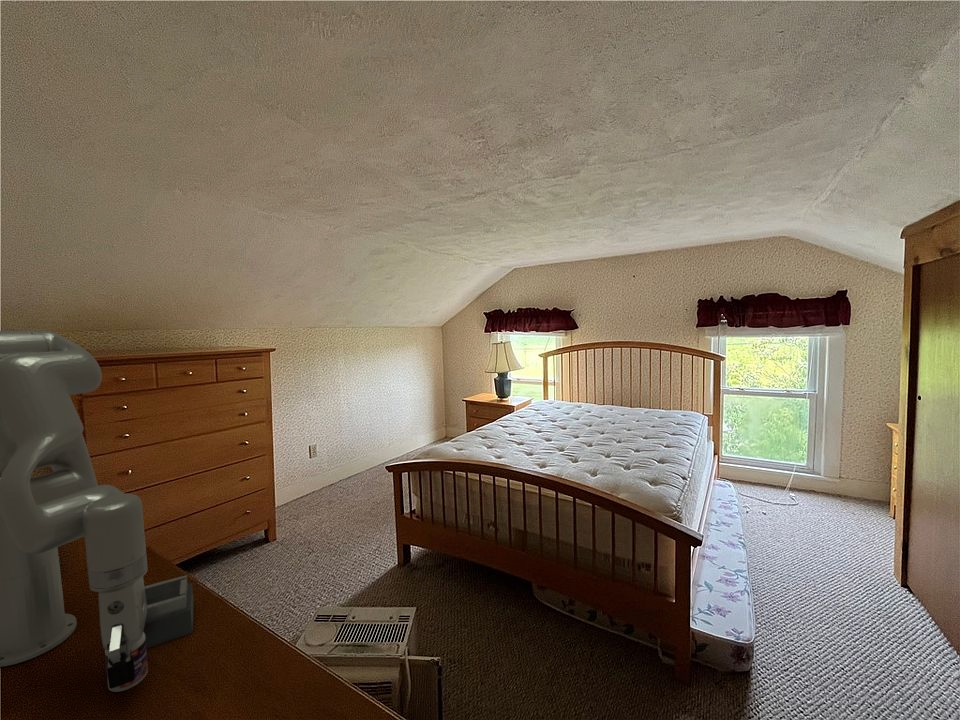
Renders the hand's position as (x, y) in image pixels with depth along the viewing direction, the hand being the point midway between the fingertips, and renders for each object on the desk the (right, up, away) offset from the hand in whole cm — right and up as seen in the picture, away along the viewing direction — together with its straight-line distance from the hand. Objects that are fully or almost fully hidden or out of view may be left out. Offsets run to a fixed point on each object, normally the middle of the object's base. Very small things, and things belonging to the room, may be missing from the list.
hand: (127, 662), depth 73 cm
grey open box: (-3, -2, +13) cm, 13 cm away
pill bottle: (0, -3, 0) cm, 3 cm away
